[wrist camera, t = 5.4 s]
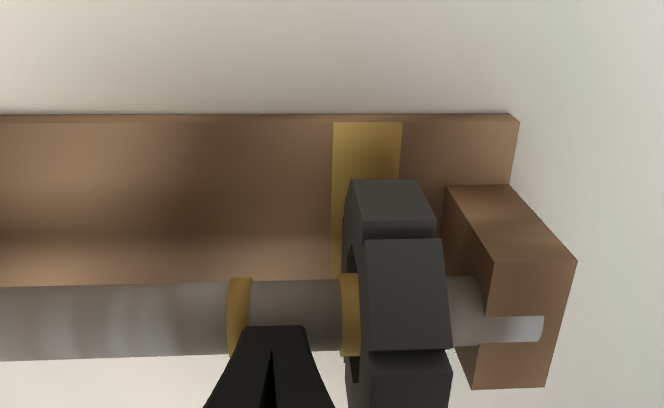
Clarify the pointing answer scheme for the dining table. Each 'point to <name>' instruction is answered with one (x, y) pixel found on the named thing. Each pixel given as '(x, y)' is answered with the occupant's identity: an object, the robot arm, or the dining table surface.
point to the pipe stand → (260, 235)
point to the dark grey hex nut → (396, 297)
